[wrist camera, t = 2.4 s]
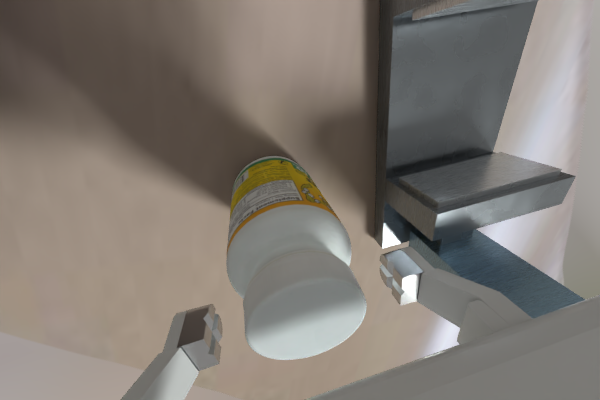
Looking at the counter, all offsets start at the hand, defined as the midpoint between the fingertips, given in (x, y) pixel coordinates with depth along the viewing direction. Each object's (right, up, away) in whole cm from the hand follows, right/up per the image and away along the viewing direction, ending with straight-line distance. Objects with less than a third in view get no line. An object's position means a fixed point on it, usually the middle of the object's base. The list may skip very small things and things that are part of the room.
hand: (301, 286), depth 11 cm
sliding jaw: (+12, +4, +10) cm, 16 cm away
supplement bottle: (-2, +5, +8) cm, 9 cm away
